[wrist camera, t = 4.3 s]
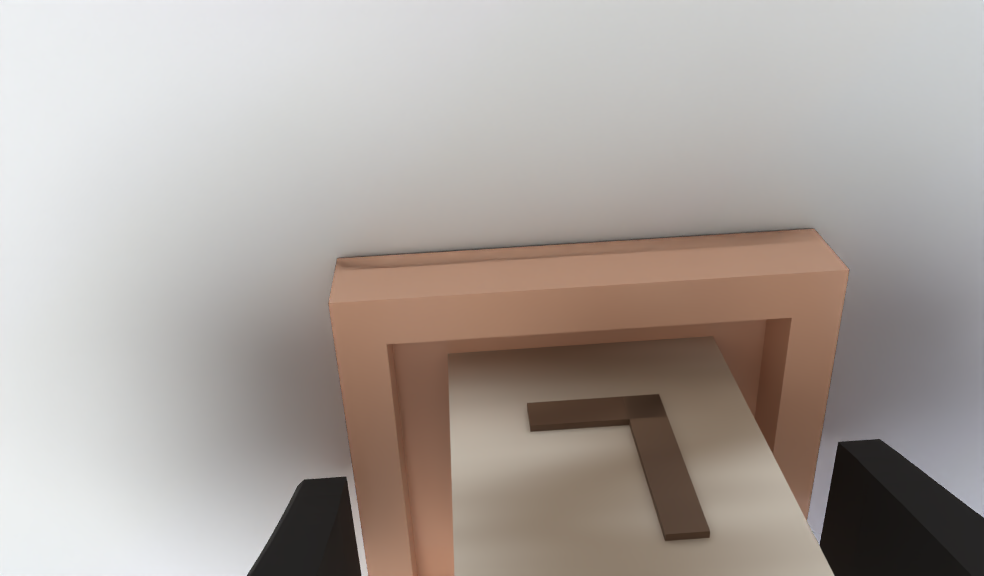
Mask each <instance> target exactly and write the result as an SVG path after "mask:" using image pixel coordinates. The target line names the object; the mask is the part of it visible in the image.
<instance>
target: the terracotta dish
mask: <svg viewBox="0 0 984 576" xmlns="http://www.w3.org/2000/svg"><path fill="white" fill-rule="evenodd" d="M848 275H849V269H848V268H847V266H846V265H845V264H844V263H843V262H842V261H841V259H840V258H839V257H838V256H837V255H836V254H835V252H834V251H833V250H832V249H831V248H830V247H829V245H828V244H827V243H826V242H825V241H824V240H823V238H822V237H821V236H820V235H819V234H818V233H817V231H816V230H815V229H800V230H784V231H768V232H752V233H736V234H720V235H704V236H688V237H672V238H656V239H640V240H624V241H608V242H592V243H576V244H560V245H544V246H528V247H512V248H497V249H481V250H465V251H449V252H433V253H417V254H401V255H385V256H369V257H353V258H337V262H336V267H335V272H334V277H333V282H332V287H331V292H330V297H329V303H328V304H329V311H330V318H331V324H332V331H333V338H334V345H335V352H336V358H337V365H338V372H339V379H340V386H341V392H342V399H343V406H344V413H345V420H346V427H347V433H348V440H349V447H350V454H351V461H352V467H353V474H354V481H355V488H356V495H357V501H358V508H359V515H360V522H361V529H362V535H363V542H364V549H365V556H366V563H367V569H368V576H454V545H453V512H452V479H451V446H450V413H449V380H448V354H449V353H464V352H479V351H494V350H509V349H525V348H540V347H555V346H570V345H585V344H600V343H615V342H631V341H646V340H661V339H676V338H691V337H706V336H713V338H714V340H715V342H716V344H717V346H718V347H719V349H720V351H721V353H722V355H723V357H724V359H725V361H726V363H727V365H728V367H729V369H730V371H731V373H732V375H733V377H734V379H735V381H736V383H737V385H738V387H739V389H740V391H741V393H742V395H743V397H744V399H745V401H746V403H747V405H748V407H749V408H750V410H751V412H752V414H753V416H754V418H755V420H756V422H757V424H758V426H759V428H760V430H761V432H762V434H763V436H764V438H765V440H766V442H767V444H768V446H769V448H770V450H771V452H772V454H773V456H774V458H775V460H776V462H777V464H778V466H779V468H780V469H781V471H782V473H783V475H784V477H785V479H786V481H787V483H788V485H789V487H790V489H791V491H792V493H793V495H794V497H795V499H796V501H797V503H798V505H799V507H800V509H801V511H802V513H803V515H804V517H805V519H806V521H807V517H808V511H809V506H810V500H811V494H812V488H813V482H814V476H815V470H816V464H817V458H818V452H819V446H820V440H821V435H822V429H823V423H824V417H825V411H826V405H827V399H828V393H829V387H830V381H831V375H832V370H833V364H834V358H835V352H836V346H837V340H838V334H839V328H840V322H841V316H842V310H843V304H844V299H845V293H846V287H847V281H848Z"/></svg>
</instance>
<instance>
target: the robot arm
mask: <svg viewBox="0 0 984 576" xmlns="http://www.w3.org/2000/svg"><path fill="white" fill-rule="evenodd" d="M820 548H821V550H822V552H823V554H824V556H825V558H826V560H827V562H828V564H829V566H830V568H831V570H832V572H833V574H834V576H984V518H983V517H982V516H981V515H979V514H978V513H976V512H975V511H974V510H972V509H971V508H970V507H969V506H967V505H966V504H965V503H963V502H962V501H961V500H959V499H958V498H957V497H955V496H954V495H953V494H951V493H950V492H949V491H947V490H946V489H945V488H944V487H942V486H941V485H940V484H938V483H937V482H936V481H934V480H933V479H932V478H931V477H929V476H928V475H927V474H925V473H924V472H923V471H921V470H920V469H919V468H918V467H916V466H915V465H914V464H912V463H911V462H910V461H908V460H907V459H906V458H904V457H903V456H902V455H901V454H899V453H898V452H897V451H895V450H894V449H893V448H891V447H890V446H888V445H887V444H886V443H884V442H883V441H881V440H880V439H874V440H860V441H845V442H838V447H837V452H836V458H835V463H834V469H833V474H832V480H831V485H830V491H829V496H828V502H827V507H826V513H825V518H824V524H823V529H822V535H821V540H820ZM247 576H361V570H360V563H359V557H358V550H357V543H356V537H355V530H354V524H353V517H352V511H351V504H350V498H349V491H348V484H347V478H346V477H335V478H321V479H307V480H303V481H302V482H301V483H300V484H299V485H298V486H297V488H296V490H295V492H294V494H293V496H292V498H291V500H290V502H289V504H288V506H287V508H286V510H285V512H284V514H283V516H282V517H281V519H280V521H279V523H278V525H277V526H276V528H275V530H274V532H273V533H272V535H271V537H270V539H269V540H268V542H267V544H266V546H265V547H264V549H263V551H262V552H261V554H260V556H259V557H258V559H257V560H256V562H255V564H254V565H253V567H252V568H251V570H250V571H249V573H248V575H247Z"/></svg>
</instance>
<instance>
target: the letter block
mask: <svg viewBox="0 0 984 576" xmlns="http://www.w3.org/2000/svg"><path fill="white" fill-rule="evenodd" d="M448 380H449V413H450V446H451V479H452V512H453V545H454V576H834V574H833V572H832V570H831V568H830V566H829V564H828V562H827V560H826V558H825V556H824V554H823V552H822V550H821V548H820V546H819V544H818V542H817V540H816V538H815V536H814V534H813V532H812V530H811V528H810V527H809V525H808V523H807V521H806V519H805V517H804V515H803V513H802V511H801V509H800V507H799V505H798V503H797V501H796V499H795V497H794V495H793V493H792V491H791V489H790V487H789V485H788V483H787V481H786V479H785V477H784V475H783V473H782V471H781V469H780V468H779V466H778V464H777V462H776V460H775V458H774V456H773V454H772V452H771V450H770V448H769V446H768V444H767V442H766V440H765V438H764V436H763V434H762V432H761V430H760V428H759V426H758V424H757V422H756V420H755V418H754V416H753V414H752V412H751V410H750V408H749V407H748V405H747V403H746V401H745V399H744V397H743V395H742V393H741V391H740V389H739V387H738V385H737V383H736V381H735V379H734V377H733V375H732V373H731V371H730V369H729V367H728V365H727V363H726V361H725V359H724V357H723V355H722V353H721V351H720V349H719V347H718V346H717V344H716V342H715V340H714V338H713V336H706V337H691V338H676V339H661V340H646V341H631V342H615V343H600V344H585V345H570V346H555V347H540V348H525V349H509V350H494V351H479V352H464V353H449V354H448Z"/></svg>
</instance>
